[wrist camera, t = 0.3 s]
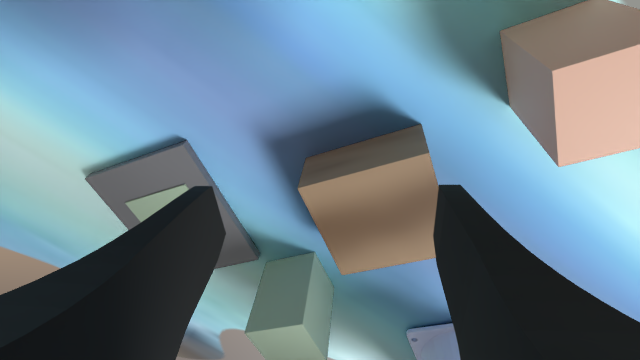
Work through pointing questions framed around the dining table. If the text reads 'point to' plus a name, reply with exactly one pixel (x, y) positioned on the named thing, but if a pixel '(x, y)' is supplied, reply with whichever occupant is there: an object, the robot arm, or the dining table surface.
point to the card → (168, 194)
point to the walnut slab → (374, 200)
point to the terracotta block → (577, 79)
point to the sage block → (292, 310)
